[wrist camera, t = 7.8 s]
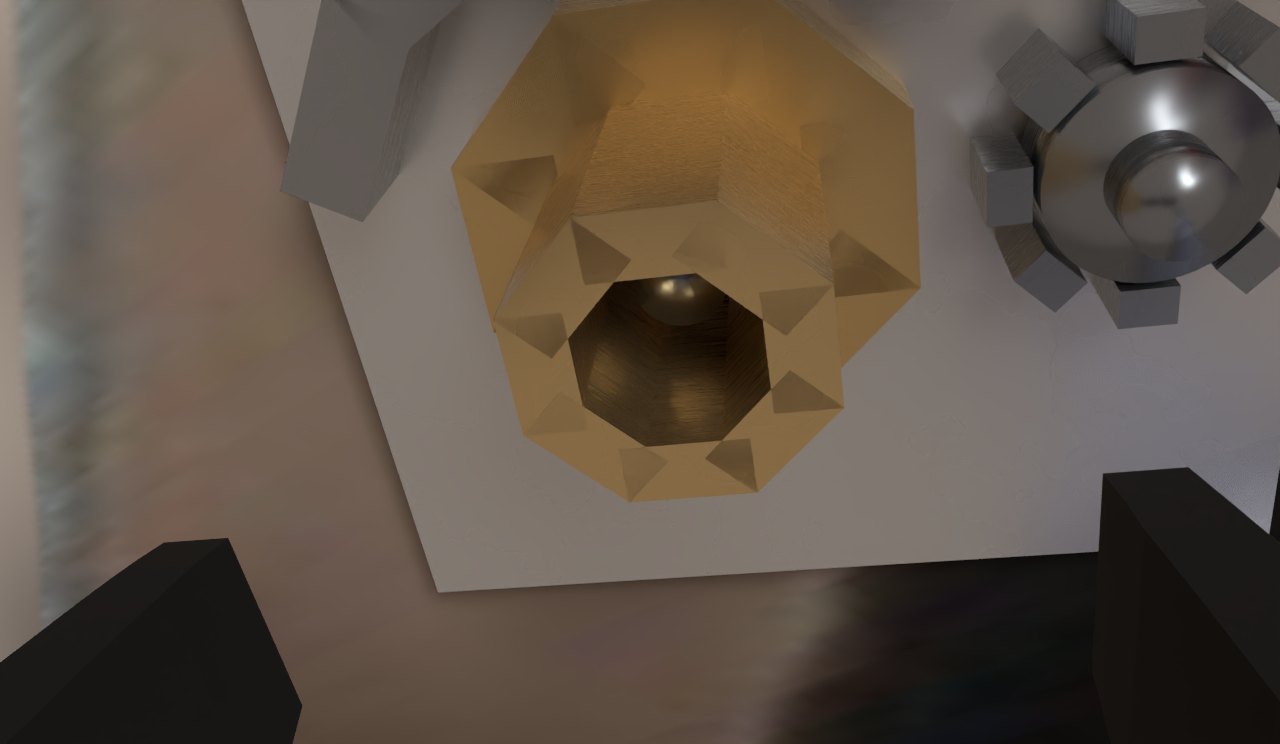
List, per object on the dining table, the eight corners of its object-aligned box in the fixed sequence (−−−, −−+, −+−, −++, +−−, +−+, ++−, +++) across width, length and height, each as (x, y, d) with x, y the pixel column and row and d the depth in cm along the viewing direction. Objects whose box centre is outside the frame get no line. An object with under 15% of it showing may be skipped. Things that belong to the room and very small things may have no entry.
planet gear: (915, 357, 18) (964, 562, 14) (532, 393, 19) (467, 594, 15) (897, -56, 15) (954, 41, 10) (438, 13, 16) (319, 128, 12)
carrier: (1246, 505, 20) (1346, 670, 17) (450, 558, 22) (395, 712, 19) (1395, -549, 13) (1631, -642, 9) (177, -300, 15) (6, -300, 12)
